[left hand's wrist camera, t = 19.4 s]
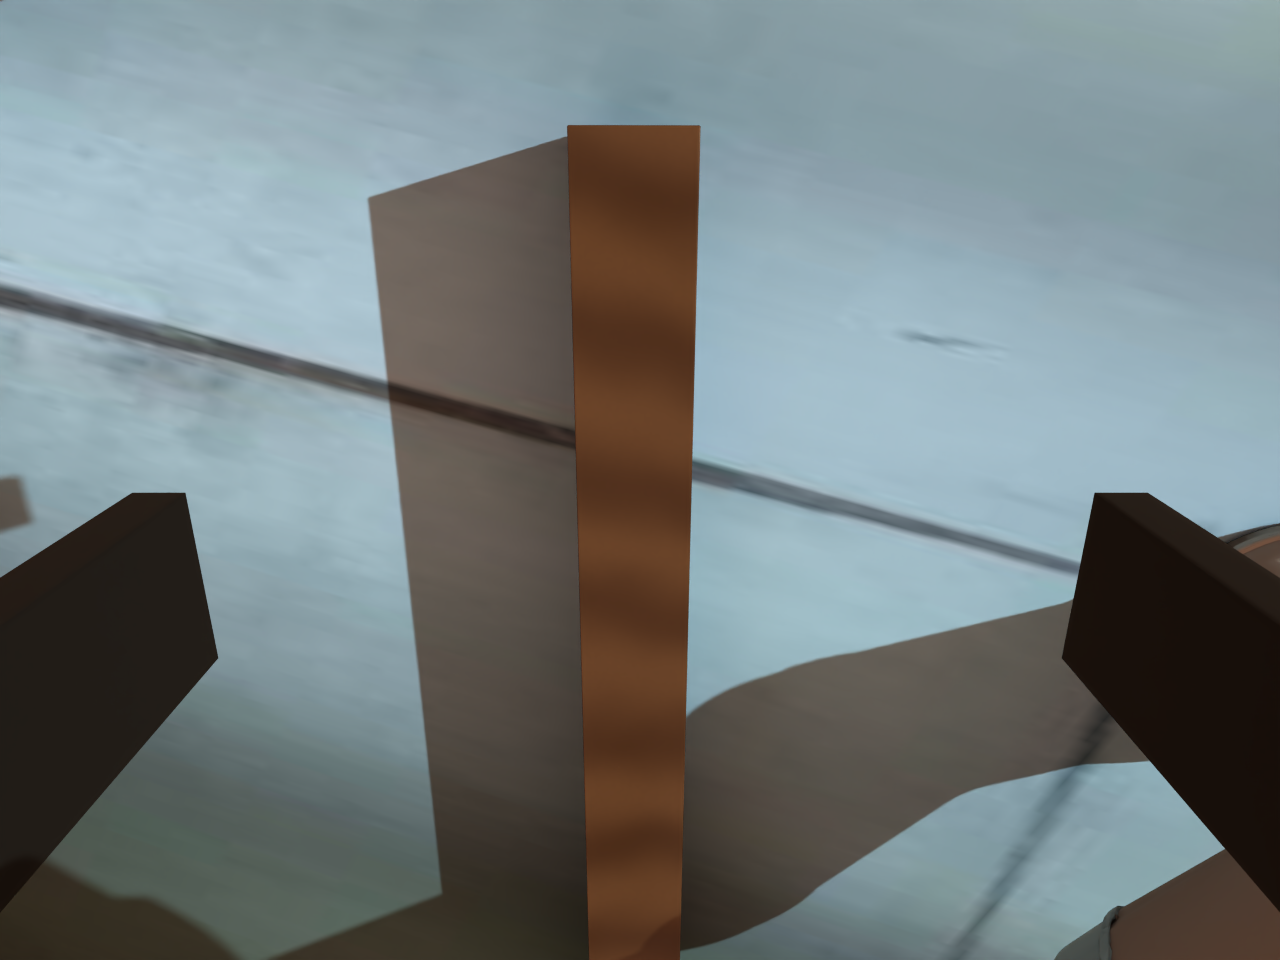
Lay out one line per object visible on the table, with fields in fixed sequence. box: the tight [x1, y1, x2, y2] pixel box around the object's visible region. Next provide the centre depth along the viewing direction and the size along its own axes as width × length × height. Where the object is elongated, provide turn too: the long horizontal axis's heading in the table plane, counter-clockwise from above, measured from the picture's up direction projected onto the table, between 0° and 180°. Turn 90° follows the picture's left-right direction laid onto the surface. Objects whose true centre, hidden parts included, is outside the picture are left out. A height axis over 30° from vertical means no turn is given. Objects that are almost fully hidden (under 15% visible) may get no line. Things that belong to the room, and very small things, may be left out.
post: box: [567, 125, 700, 960], centre depth 50 cm, size 81×5×8 cm, turn 0°
